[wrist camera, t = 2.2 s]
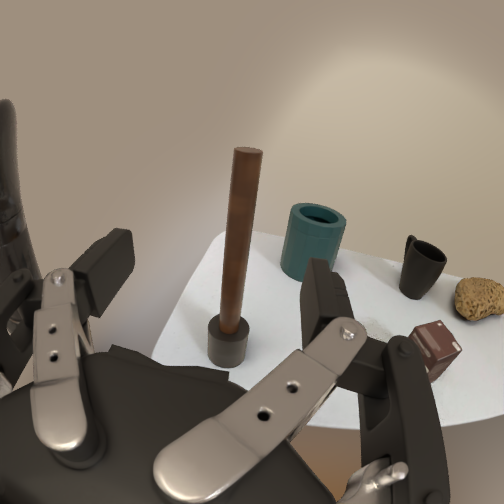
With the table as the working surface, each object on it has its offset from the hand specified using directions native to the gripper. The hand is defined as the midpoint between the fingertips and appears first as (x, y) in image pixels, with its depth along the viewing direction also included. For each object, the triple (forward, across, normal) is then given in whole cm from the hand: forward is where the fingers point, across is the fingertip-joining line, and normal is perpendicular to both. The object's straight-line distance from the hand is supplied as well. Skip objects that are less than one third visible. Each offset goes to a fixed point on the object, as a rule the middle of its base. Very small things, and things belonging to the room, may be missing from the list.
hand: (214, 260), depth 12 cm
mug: (+32, -34, +21) cm, 51 cm away
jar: (+33, -11, +21) cm, 41 cm away
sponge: (+26, -52, +22) cm, 62 cm away
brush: (+11, 0, +21) cm, 24 cm away
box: (+10, -26, +22) cm, 36 cm away
